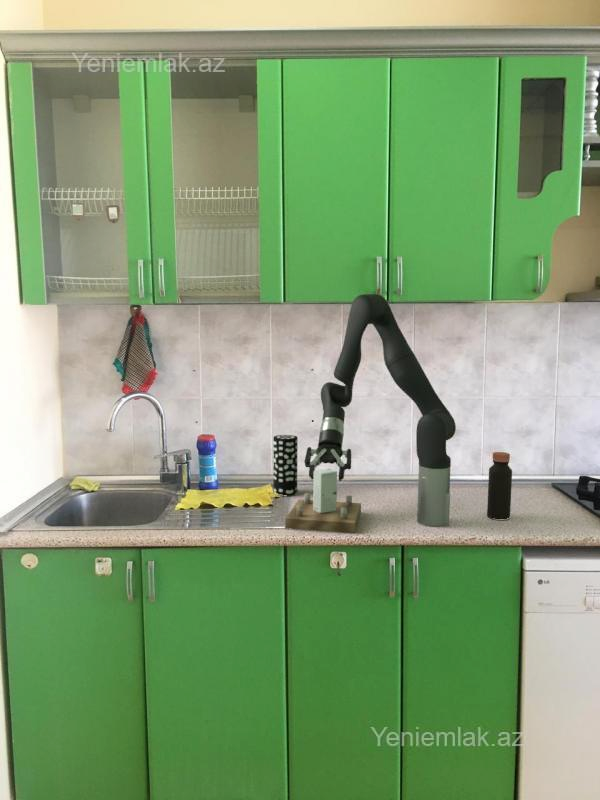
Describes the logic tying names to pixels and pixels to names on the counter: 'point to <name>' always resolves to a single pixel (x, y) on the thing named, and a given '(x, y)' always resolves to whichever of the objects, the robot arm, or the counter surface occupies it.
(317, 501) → the skincare box
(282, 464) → the spotted tube
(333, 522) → the walnut plinth
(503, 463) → the bottle
